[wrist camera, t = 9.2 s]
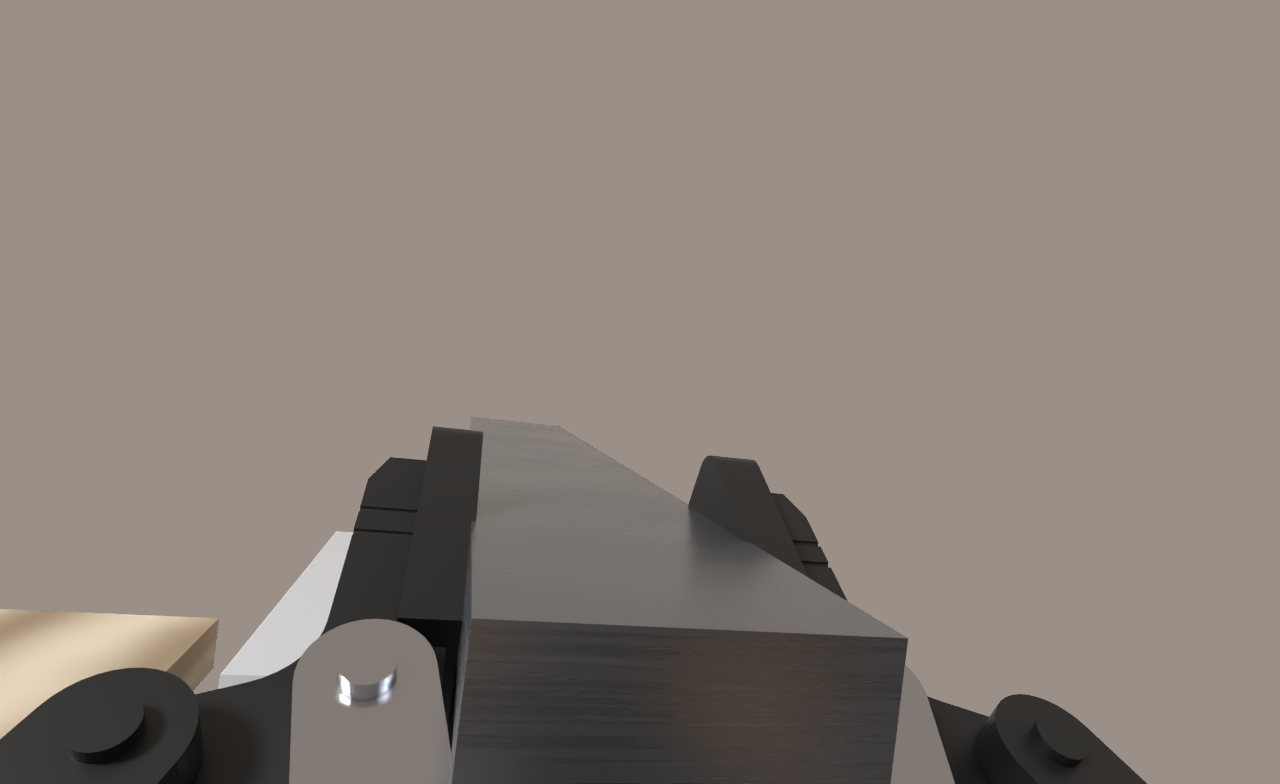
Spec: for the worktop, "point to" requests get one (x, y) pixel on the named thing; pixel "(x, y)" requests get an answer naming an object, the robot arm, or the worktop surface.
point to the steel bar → (650, 639)
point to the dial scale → (292, 618)
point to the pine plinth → (92, 652)
